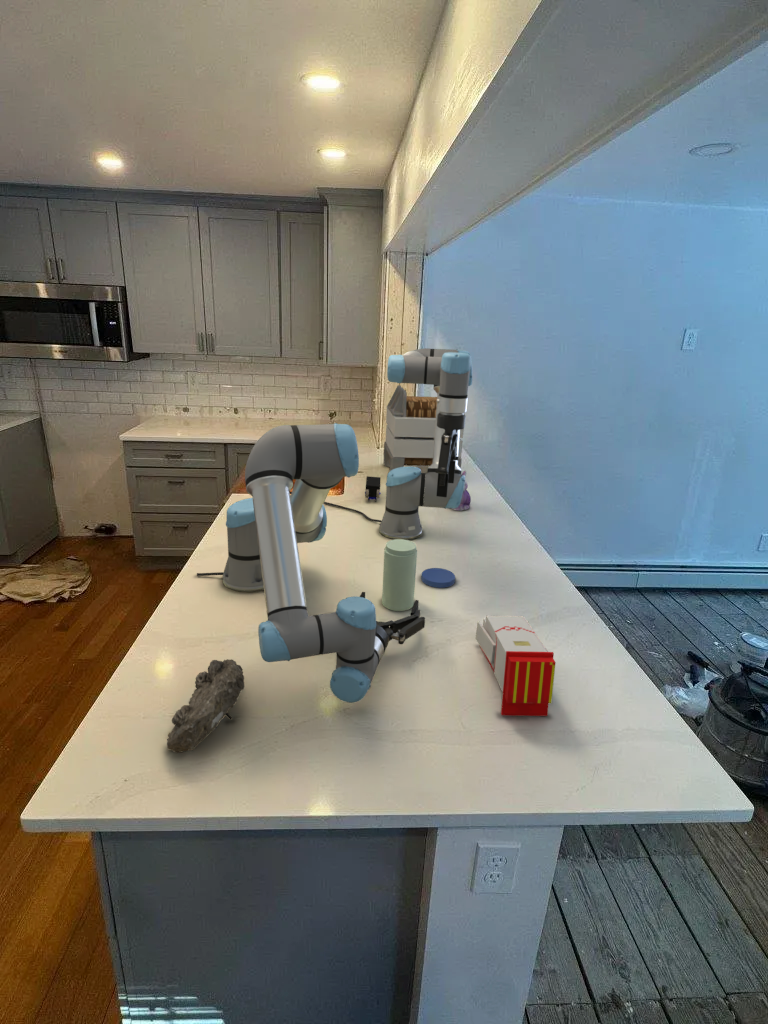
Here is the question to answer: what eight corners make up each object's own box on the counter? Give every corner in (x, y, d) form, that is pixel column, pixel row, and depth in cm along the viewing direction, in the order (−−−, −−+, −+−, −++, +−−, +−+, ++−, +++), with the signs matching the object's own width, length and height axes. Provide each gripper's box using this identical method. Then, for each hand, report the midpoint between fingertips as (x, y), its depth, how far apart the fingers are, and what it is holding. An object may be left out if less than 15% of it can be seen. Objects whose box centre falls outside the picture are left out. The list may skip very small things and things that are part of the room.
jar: (420, 604, 153) (424, 545, 147) (398, 614, 147) (401, 554, 142) (397, 592, 159) (400, 536, 153) (375, 602, 153) (377, 543, 147)
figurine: (457, 512, 223) (460, 476, 218) (443, 504, 231) (446, 469, 226) (477, 509, 227) (480, 473, 222) (462, 502, 236) (465, 467, 230)
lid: (414, 579, 167) (414, 574, 166) (435, 569, 174) (435, 564, 173) (441, 591, 160) (441, 586, 160) (461, 580, 167) (461, 575, 167)
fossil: (192, 660, 117) (244, 628, 112) (224, 691, 120) (276, 661, 115) (142, 746, 98) (202, 712, 93) (182, 779, 101) (242, 748, 96)
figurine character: (380, 506, 230) (380, 491, 243) (381, 489, 227) (381, 475, 240) (364, 506, 230) (364, 491, 243) (364, 489, 226) (365, 474, 240)
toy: (522, 601, 137) (564, 658, 107) (517, 652, 139) (557, 722, 110) (472, 600, 136) (500, 657, 107) (468, 651, 139) (495, 721, 110)
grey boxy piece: (382, 463, 289) (386, 382, 275) (445, 464, 293) (451, 384, 279) (390, 482, 257) (394, 392, 243) (460, 483, 261) (468, 394, 247)
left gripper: (312, 651, 126) (341, 606, 145) (423, 671, 121) (438, 621, 140) (312, 622, 123) (342, 580, 143) (426, 641, 118) (440, 594, 137)
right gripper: (444, 405, 163) (439, 476, 170) (429, 419, 140) (423, 501, 147) (470, 407, 161) (464, 478, 168) (459, 422, 138) (452, 504, 145)
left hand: (390, 600), depth 141 cm, fingers open, 13 cm apart
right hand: (445, 489), depth 158 cm, fingers open, 13 cm apart
